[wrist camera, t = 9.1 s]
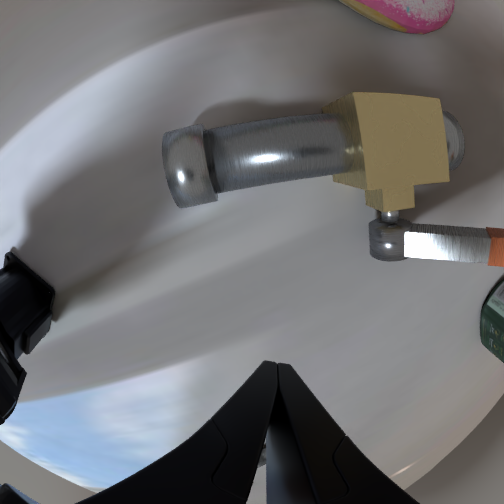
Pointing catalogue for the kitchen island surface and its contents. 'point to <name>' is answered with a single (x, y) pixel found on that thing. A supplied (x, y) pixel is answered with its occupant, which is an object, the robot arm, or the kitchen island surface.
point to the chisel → (435, 242)
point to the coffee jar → (493, 322)
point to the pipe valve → (322, 151)
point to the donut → (405, 13)
